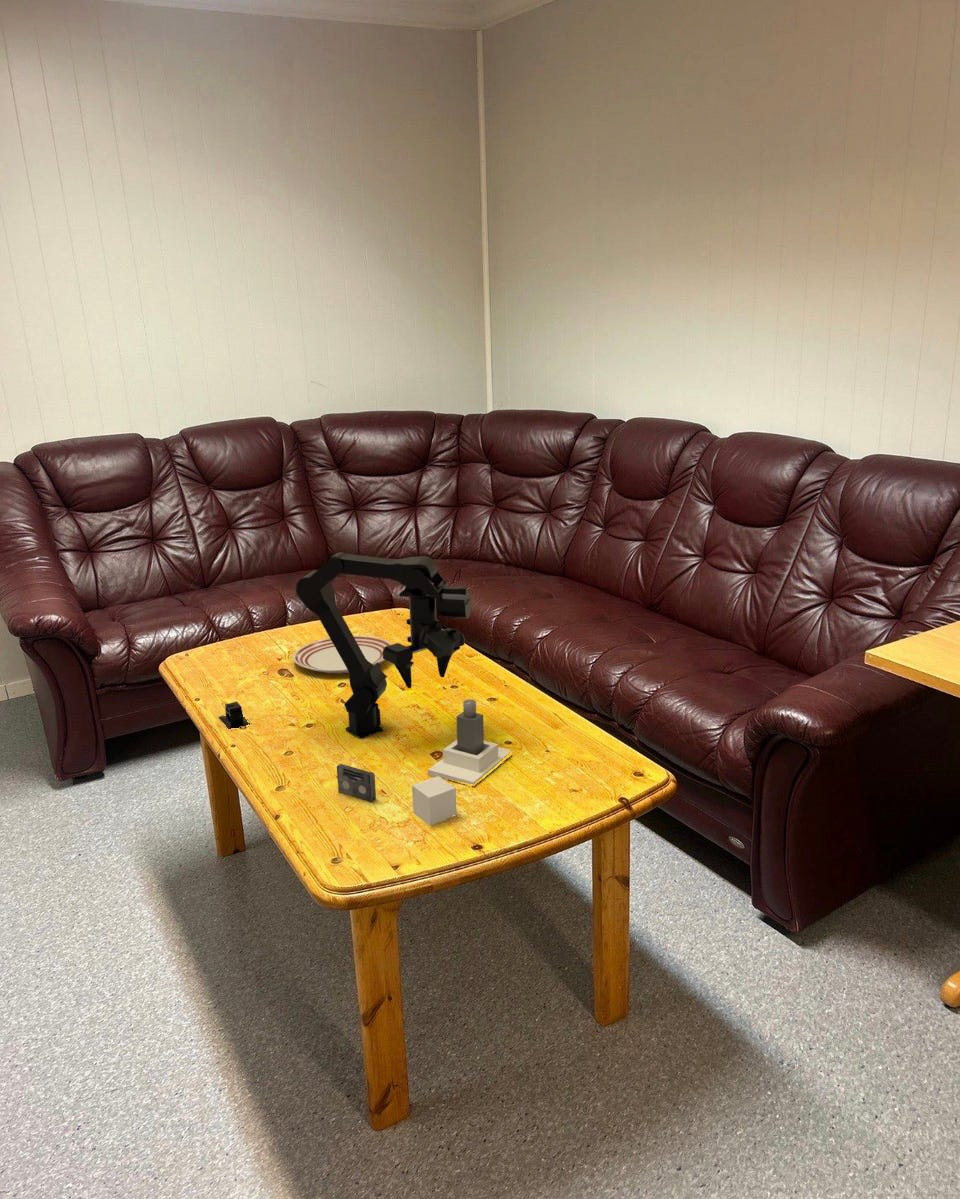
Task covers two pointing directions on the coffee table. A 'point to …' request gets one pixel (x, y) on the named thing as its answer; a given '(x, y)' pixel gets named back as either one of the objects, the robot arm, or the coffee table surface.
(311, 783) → the coffee table surface
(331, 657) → the dinner plate
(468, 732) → the plug
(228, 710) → the black boxy piece
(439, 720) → the coffee table surface
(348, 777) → the mini dv tape
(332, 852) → the coffee table surface
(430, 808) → the gray cube
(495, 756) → the socket board
